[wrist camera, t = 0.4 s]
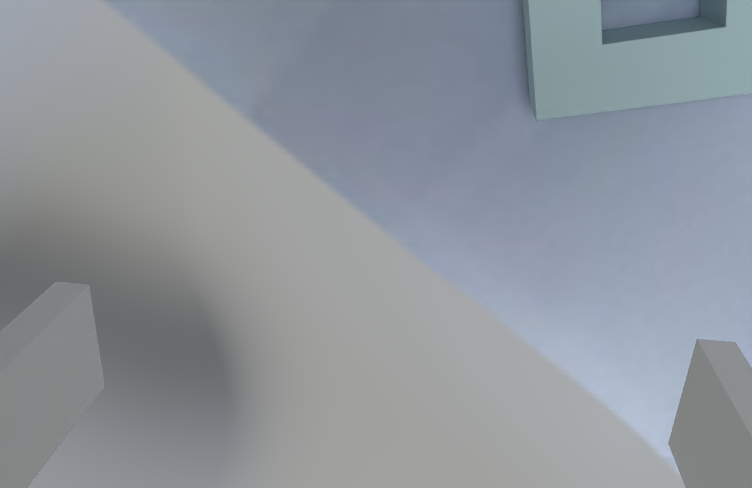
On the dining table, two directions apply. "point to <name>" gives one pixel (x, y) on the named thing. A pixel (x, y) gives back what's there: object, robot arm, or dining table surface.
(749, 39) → the socket
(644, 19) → the dining table surface
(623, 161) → the dining table surface
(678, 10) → the dining table surface
